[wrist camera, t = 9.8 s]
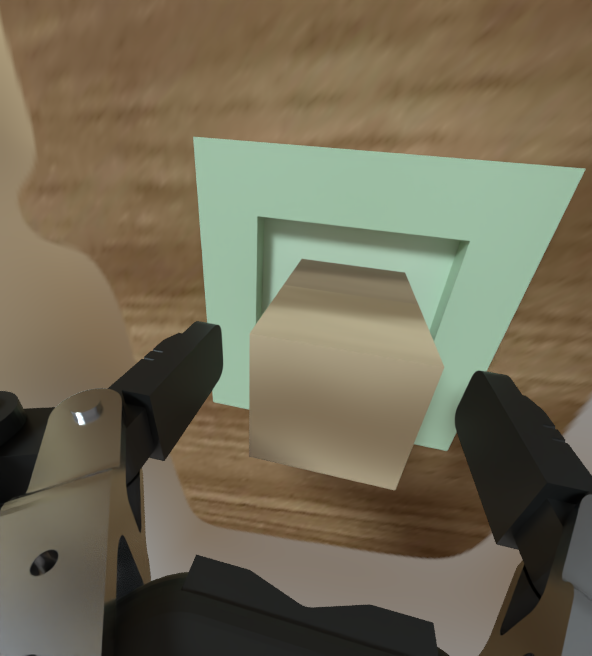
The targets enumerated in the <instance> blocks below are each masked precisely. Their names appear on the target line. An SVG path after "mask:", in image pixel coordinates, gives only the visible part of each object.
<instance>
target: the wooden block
mask: <svg viewBox="0 0 592 656" xmlns="http://www.w3.org/2000/svg"><path fill="white" fill-rule="evenodd" d="M443 370H444V365H443V362H442V360H441V358H440V355H439V353H438V350H437V348H436V346H435V343H434V341H433V338H432V336H431V334H430V331H429V329H428V326H427V324H426V322H425V319H424V317H423V314H422V312H421V310H420V307H419V305H418V302H417V300H416V298H415V295H414V293H413V290H412V288H411V286H410V283H409V281H408V278H407V276H406V274H405V272H397V271H390V270H383V269H375V268H368V267H360V266H353V265H345V264H338V263H330V262H323V261H315V260H308V259H301V260H300V262H299V263H298V265H297V266H296V268H295V269H294V270H293V272H292V273H291V275H290V276H289V278H288V279H287V280H286V282H285V283H284V285H283V286H282V288H281V289H280V290H279V292H278V293H277V295H276V296H275V298H274V299H273V301H272V302H271V303H270V305H269V306H268V308H267V309H266V311H265V312H264V313H263V315H262V316H261V318H260V319H259V321H258V322H257V323H256V325H255V326H254V328H253V329H252V331H251V332H250V348H249V457H254V458H258V459H262V460H266V461H271V462H275V463H279V464H284V465H288V466H292V467H296V468H301V469H305V470H309V471H314V472H318V473H322V474H327V475H331V476H335V477H339V478H344V479H348V480H352V481H357V482H361V483H365V484H370V485H374V486H378V487H382V488H387V489H391V490H396V487H397V485H398V482H399V480H400V477H401V475H402V472H403V470H404V467H405V465H406V462H407V460H408V457H409V455H410V452H411V450H412V447H413V445H414V442H415V440H416V437H417V435H418V432H419V430H420V427H421V425H422V422H423V420H424V417H425V415H426V412H427V410H428V407H429V405H430V402H431V400H432V397H433V395H434V392H435V390H436V387H437V385H438V382H439V380H440V377H441V375H442V372H443Z"/></svg>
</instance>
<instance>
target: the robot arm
mask: <svg viewBox="0 0 592 656" xmlns="http://www.w3.org/2000/svg"><path fill="white" fill-rule="evenodd" d="M222 370H223V347H222V331H221V327H220V326H219V325H217V324H211V323H205V322H199V321H196V322H194V323H193V324H192V325H191V326H190V327H189V328H188V329H187V330H186V331H185V332H184V333H178V334H175V335H173V336H171V337H169V338H167V339H165V340H163V341H162V342H161V343H160V344H158V345H157V346H156V347H155V348H154V349H153V351H150V352H149V353H148V354H147V355H146V356H145V357H144V359H141V360H140V361H139V362H138V363H137V364H135V365H134V366H133V367H132V368H131V369H130V370H129V371H127V372H126V373H125V374H124V375H123V376H122V377H120V378H119V379H118V380H117V381H116V382H115V383H114V384H112V385H111V386H110V387H109V388H108V389H105V388H104V389H103V388H98V389H91V390H86V391H83V392H80V393H77V394H75V395H73V396H71V397H69V398H67V399H65V400H64V401H62V402H61V403H60V404H59V405H57V407H52V408H32V409H31V408H30V409H23V407H22V405H21V403H20V401H19V399H18V397H17V396H16V395H15V394H13V393H11V392H6V391H0V656H449V655H448V654H447V653H445V652H444V651H443V650H441V649H440V648H438V647H437V644H436V637H435V631H434V625H433V623H432V622H429V621H425V620H422V619H419V618H415V617H412V616H408V615H404V614H401V613H398V612H394V611H391V610H387V609H384V608H380V607H377V606H373V605H353V606H334V607H316V608H310V607H305V606H302V605H301V604H299V603H297V602H296V601H295V600H293V599H292V598H290V597H289V596H287V595H286V594H284V593H283V592H281V591H280V590H278V589H277V588H275V587H274V586H273V585H271V584H270V583H268V582H267V581H265V580H263V579H262V578H261V577H259V576H258V575H256V574H255V573H253V572H252V571H250V570H248V569H244V568H241V567H238V566H234V565H231V564H227V563H224V562H220V561H217V560H213V559H210V558H206V557H203V556H199V555H196V557H195V559H194V561H193V564H192V566H191V568H190V571H189V572H184V573H178V574H173V575H168V576H165V577H162V578H159V579H156V580H153V581H151V573H150V565H149V558H148V554H147V547H146V537H145V515H144V513H145V512H144V488H143V471H142V466H143V465H144V464H145V462H146V461H147V460H148V458H153V459H157V460H162V461H165V459H166V458H167V456H168V455H169V453H170V452H171V451H172V449H173V448H174V446H175V445H176V443H177V442H178V440H179V439H180V437H181V436H182V434H183V433H184V431H185V430H186V428H187V427H188V425H189V424H190V422H191V421H192V419H193V418H194V416H195V415H196V414H197V412H198V411H199V409H200V408H201V406H202V405H203V403H204V402H205V400H206V399H207V397H208V396H209V394H210V393H211V391H212V390H213V388H214V387H215V385H216V384H217V382H218V381H219V379H220V377H221V374H222ZM455 428H456V431H457V434H458V437H459V440H460V442H461V445H462V448H463V451H464V454H465V457H466V459H467V462H468V465H469V468H470V471H471V474H472V477H473V479H474V482H475V485H476V488H477V491H478V494H479V496H480V499H481V502H482V505H483V508H484V511H485V514H486V516H487V519H488V522H489V525H490V528H491V531H492V533H493V536H494V539H495V542H496V544H497V545H502V546H506V547H510V548H514V549H518V550H519V551H520V554H521V556H522V559H523V561H522V562H521V563H520V564H519V565H518V566H517V568H516V571H515V573H514V576H513V578H512V581H511V584H510V586H509V589H508V591H507V594H506V596H505V599H504V602H503V605H502V607H501V609H500V612H499V615H498V617H497V620H496V623H495V625H494V628H493V630H492V633H491V636H490V638H489V640H488V642H487V644H486V646H485V647H484V649H483V650H482V652H481V653H480V654H479V656H592V475H591V474H590V473H589V471H588V470H587V469H586V467H585V466H584V465H583V464H582V462H581V461H580V459H579V458H578V456H577V455H576V454H575V452H574V451H573V450H572V448H571V447H570V446H569V445H568V444H567V443H565V439H564V438H563V436H562V435H561V433H560V432H559V431H558V430H557V429H555V425H554V424H553V423H552V421H551V420H550V419H549V417H548V416H547V414H546V413H545V412H544V411H543V410H542V409H541V408H540V407H539V406H537V405H536V404H535V403H534V402H533V401H531V400H530V399H529V398H528V397H527V396H523V395H522V394H521V392H520V391H519V390H518V388H517V387H516V385H515V384H514V382H513V381H512V380H511V378H510V377H509V376H507V375H503V374H497V373H491V372H486V371H479V370H478V371H476V372H475V373H474V374H473V375H472V377H471V379H470V381H469V383H468V386H467V388H466V390H465V392H464V394H463V396H462V398H461V400H460V402H459V405H458V407H457V409H456V413H455Z"/></svg>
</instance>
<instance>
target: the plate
mask: <svg viewBox="0 0 592 656" xmlns="http://www.w3.org/2000/svg"><path fill="white" fill-rule="evenodd" d="M193 140H194V153H195V166H196V179H197V193H198V206H199V219H200V232H201V245H202V259H203V272H204V285H205V298H206V311H207V323H211V324H217V325H219V326H220V327H221V331H222V347H223V370H222V374H221V377H220V379H219V381H218V382H217V384H216V385H215V387H214V388H213V402H216V403H221V404H226V405H231V406H235V407H240V408H245V409H249V348H250V332H251V331H252V329H253V328H254V326H255V325H256V323H257V322H258V321H259V319H260V318H261V316H262V315H263V313H264V312H265V311H266V309H267V308H268V306H269V305H270V303H271V302H272V301H273V299H274V298H275V296H276V295H277V293H278V292H279V290H280V289H281V288H282V286H283V285H284V283H285V282H286V280H287V279H288V278H289V276H290V275H291V273H292V272H293V270H294V269H295V268H296V266H297V265H298V263H299V262H300V260H301V259H308V260H315V261H323V262H330V263H338V264H345V265H353V266H360V267H368V268H375V269H383V270H390V271H397V272H405V274H406V276H407V278H408V281H409V283H410V286H411V288H412V290H413V293H414V295H415V298H416V300H417V302H418V305H419V307H420V310H421V312H422V314H423V317H424V319H425V322H426V324H427V326H428V329H429V331H430V334H431V336H432V338H433V341H434V343H435V346H436V348H437V350H438V353H439V355H440V358H441V360H442V362H443V365H444V370H443V372H442V375H441V377H440V380H439V382H438V385H437V387H436V390H435V392H434V395H433V397H432V400H431V402H430V405H429V407H428V410H427V412H426V415H425V417H424V420H423V422H422V425H421V427H420V430H419V432H418V435H417V437H416V440H415V442H414V444H416V445H421V446H425V447H430V448H435V449H440V450H444V451H448V449H449V446H450V444H451V442H452V440H453V438H454V436H455V434H456V432H457V431H456V428H455V413H456V409H457V407H458V405H459V402H460V400H461V398H462V396H463V394H464V392H465V390H466V388H467V386H468V383H469V381H470V379H471V377H472V375H473V374H474V373H475V372H476V371H478V370H479V371H487V369H488V367H489V365H490V363H491V361H492V359H493V357H494V355H495V353H496V351H497V349H498V346H499V344H500V342H501V340H502V338H503V336H504V334H505V332H506V330H507V328H508V326H509V324H510V322H511V320H512V318H513V316H514V314H515V312H516V310H517V308H518V306H519V304H520V302H521V300H522V298H523V295H524V293H525V291H526V289H527V287H528V285H529V283H530V281H531V279H532V277H533V275H534V273H535V271H536V269H537V267H538V265H539V263H540V261H541V259H542V257H543V255H544V253H545V251H546V249H547V247H548V244H549V242H550V240H551V238H552V236H553V234H554V232H555V230H556V228H557V226H558V224H559V222H560V220H561V218H562V216H563V214H564V212H565V210H566V208H567V206H568V204H569V202H570V200H571V198H572V196H573V193H574V191H575V189H576V187H577V185H578V183H579V181H580V179H581V177H582V175H583V173H584V171H585V169H582V168H570V167H558V166H546V165H533V164H521V163H509V162H496V161H484V160H472V159H460V158H447V157H435V156H423V155H410V154H398V153H386V152H374V151H361V150H349V149H337V148H324V147H312V146H300V145H288V144H275V143H263V142H251V141H238V140H226V139H214V138H202V137H193Z"/></svg>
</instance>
